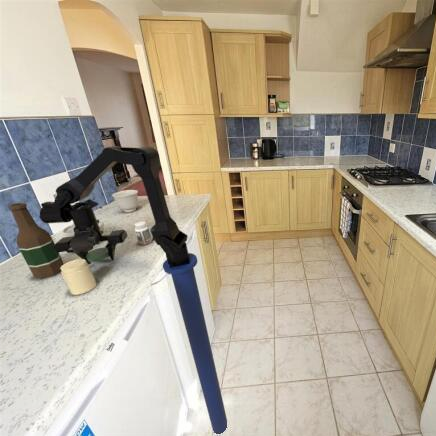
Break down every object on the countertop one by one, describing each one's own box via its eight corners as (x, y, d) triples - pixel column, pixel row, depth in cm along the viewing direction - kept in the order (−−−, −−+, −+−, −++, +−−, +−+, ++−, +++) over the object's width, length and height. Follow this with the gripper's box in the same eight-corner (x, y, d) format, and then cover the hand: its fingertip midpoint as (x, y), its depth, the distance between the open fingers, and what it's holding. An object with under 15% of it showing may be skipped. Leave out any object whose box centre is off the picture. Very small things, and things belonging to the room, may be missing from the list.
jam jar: (99, 279, 77) (89, 256, 73) (93, 291, 71) (82, 267, 68) (74, 284, 74) (63, 261, 71) (67, 297, 69) (55, 272, 66)
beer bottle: (38, 281, 76) (0, 210, 66) (31, 274, 80) (-7, 206, 70) (69, 269, 82) (38, 202, 72) (60, 262, 86) (30, 198, 76)
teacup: (138, 203, 143) (134, 187, 139) (145, 210, 133) (140, 192, 129) (114, 209, 136) (108, 192, 132) (119, 216, 125) (113, 198, 121)
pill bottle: (152, 238, 102) (147, 220, 98) (151, 243, 98) (146, 224, 94) (139, 240, 100) (133, 222, 96) (138, 245, 96) (132, 226, 93)
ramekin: (111, 240, 101) (106, 225, 98) (71, 253, 92) (63, 237, 89) (104, 231, 109) (99, 217, 106) (66, 242, 100) (59, 227, 98)
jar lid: (82, 263, 80) (80, 258, 79) (93, 252, 86) (92, 248, 85) (106, 260, 81) (104, 256, 80) (115, 250, 87) (114, 246, 87)
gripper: (33, 236, 68) (56, 281, 74) (109, 226, 73) (125, 269, 79) (55, 221, 78) (73, 262, 84) (121, 213, 83) (134, 252, 89)
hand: (101, 261), depth 84 cm, fingers closed on jar lid, 6 cm apart
